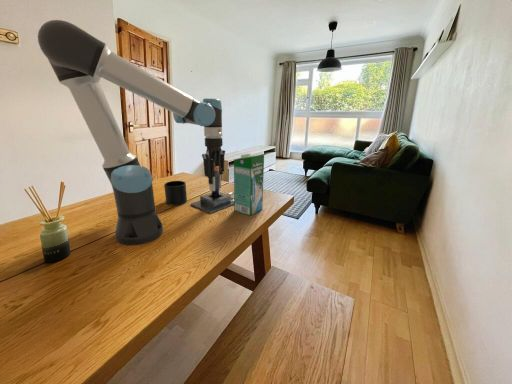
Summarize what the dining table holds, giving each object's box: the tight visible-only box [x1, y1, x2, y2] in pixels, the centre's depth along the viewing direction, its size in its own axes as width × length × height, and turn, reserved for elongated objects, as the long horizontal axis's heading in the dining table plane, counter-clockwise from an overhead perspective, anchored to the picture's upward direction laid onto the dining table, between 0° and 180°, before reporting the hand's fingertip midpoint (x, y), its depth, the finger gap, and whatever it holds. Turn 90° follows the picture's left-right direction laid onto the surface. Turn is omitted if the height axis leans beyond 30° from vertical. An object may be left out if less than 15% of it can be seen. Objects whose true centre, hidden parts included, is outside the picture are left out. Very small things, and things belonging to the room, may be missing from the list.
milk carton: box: [233, 153, 265, 217], centre depth 105 cm, size 9×9×25 cm
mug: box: [164, 180, 188, 206], centre depth 116 cm, size 9×12×9 cm
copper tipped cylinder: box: [211, 164, 221, 197], centre depth 111 cm, size 4×4×14 cm
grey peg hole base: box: [190, 191, 234, 214], centre depth 116 cm, size 22×14×4 cm, turn 139°
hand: (215, 188), depth 113 cm, fingers closed on copper tipped cylinder, 4 cm apart
